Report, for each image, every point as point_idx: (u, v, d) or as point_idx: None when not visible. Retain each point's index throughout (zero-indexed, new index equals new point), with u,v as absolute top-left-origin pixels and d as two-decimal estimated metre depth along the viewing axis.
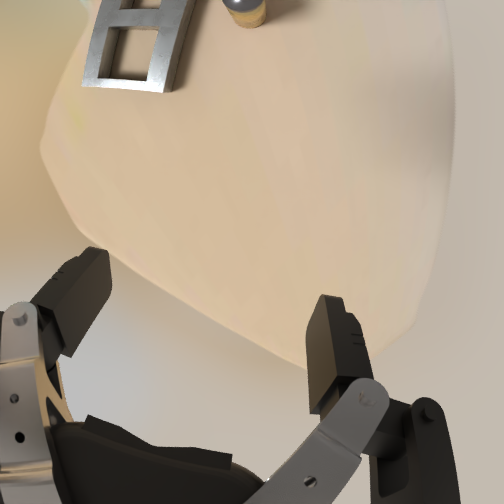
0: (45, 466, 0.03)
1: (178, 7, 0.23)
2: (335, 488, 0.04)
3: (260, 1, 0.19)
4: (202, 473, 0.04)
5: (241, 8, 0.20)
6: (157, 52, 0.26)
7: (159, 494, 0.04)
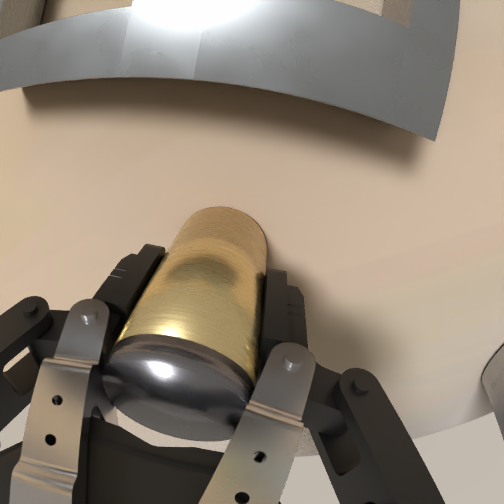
0: (68, 475, 0.03)
1: (207, 54, 0.07)
2: (287, 457, 0.04)
3: (159, 430, 0.07)
4: (202, 473, 0.04)
5: None
6: (48, 36, 0.06)
7: (159, 494, 0.04)
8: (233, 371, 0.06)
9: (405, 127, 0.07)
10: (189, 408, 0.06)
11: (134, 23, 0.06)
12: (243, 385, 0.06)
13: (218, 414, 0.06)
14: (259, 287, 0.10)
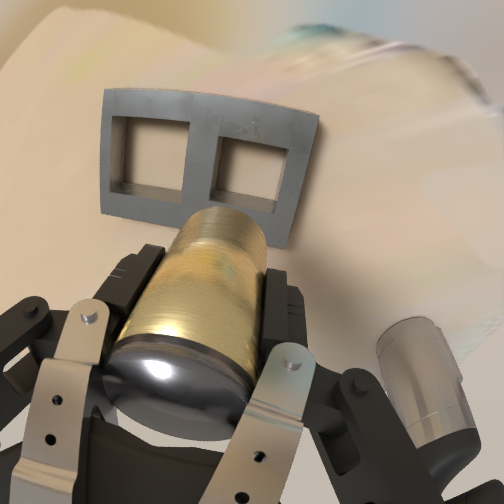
0: (68, 475, 0.03)
1: None
2: (287, 457, 0.04)
3: (159, 430, 0.07)
4: (202, 473, 0.04)
5: (115, 394, 0.07)
6: (145, 203, 0.25)
7: (159, 494, 0.04)
8: (233, 370, 0.06)
9: (272, 246, 0.26)
10: (189, 408, 0.06)
11: (182, 211, 0.25)
12: (243, 384, 0.06)
13: (218, 414, 0.06)
14: (259, 287, 0.10)
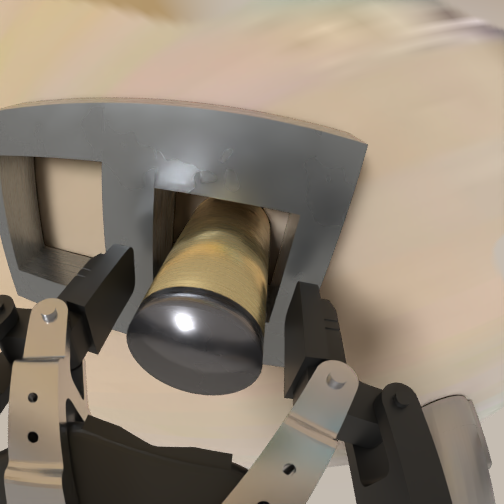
0: (55, 469, 0.03)
1: None
2: (315, 473, 0.04)
3: (175, 386, 0.09)
4: (202, 473, 0.04)
5: (139, 348, 0.08)
6: None
7: (159, 494, 0.04)
8: (246, 317, 0.08)
9: (266, 364, 0.15)
10: (207, 355, 0.08)
11: None
12: (254, 330, 0.08)
13: (232, 360, 0.08)
14: (265, 258, 0.11)
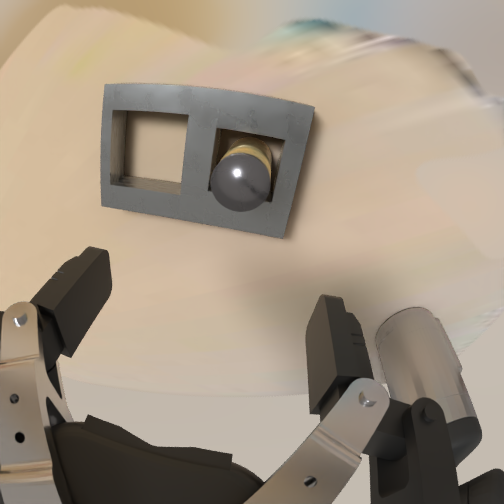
0: (45, 466, 0.03)
1: (207, 216, 0.26)
2: (335, 488, 0.04)
3: (228, 207, 0.20)
4: (202, 473, 0.04)
5: (215, 183, 0.19)
6: (145, 195, 0.25)
7: (159, 494, 0.04)
8: (263, 164, 0.19)
9: None
10: (247, 181, 0.19)
11: (182, 202, 0.26)
12: (266, 169, 0.19)
13: (257, 182, 0.19)
14: (269, 159, 0.23)
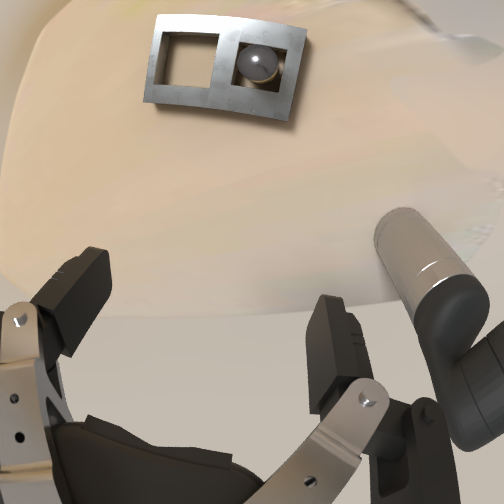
0: (45, 465, 0.03)
1: (229, 104, 0.31)
2: (335, 488, 0.04)
3: (249, 78, 0.25)
4: (202, 473, 0.04)
5: (240, 62, 0.25)
6: (181, 90, 0.30)
7: (159, 494, 0.04)
8: (273, 51, 0.24)
9: (278, 119, 0.32)
10: (262, 60, 0.24)
11: (210, 93, 0.31)
12: (275, 54, 0.24)
13: (269, 61, 0.24)
14: None
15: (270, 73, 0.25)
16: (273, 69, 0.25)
